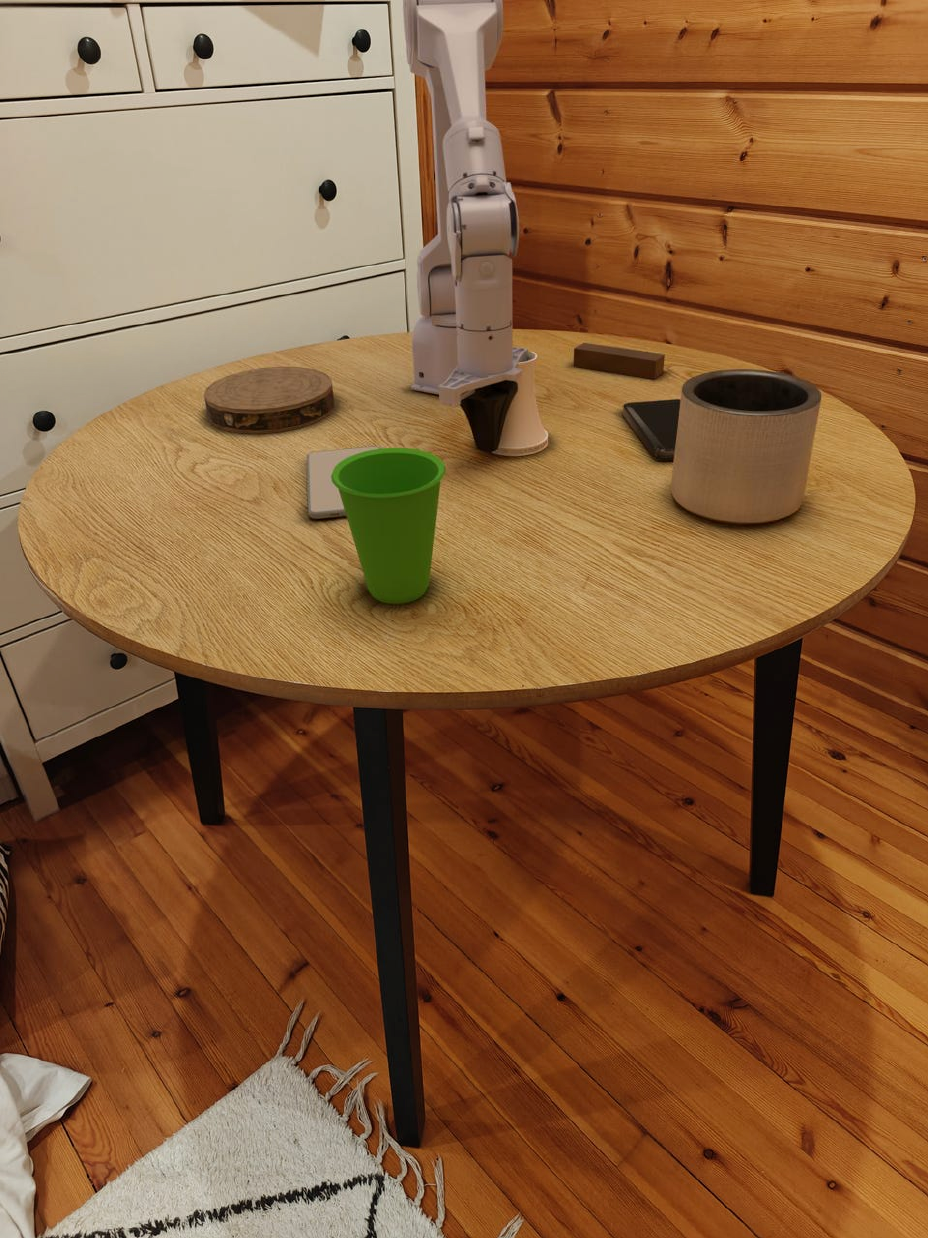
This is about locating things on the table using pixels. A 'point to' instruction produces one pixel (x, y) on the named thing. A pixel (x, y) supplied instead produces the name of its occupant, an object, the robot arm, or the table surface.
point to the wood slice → (269, 399)
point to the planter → (744, 445)
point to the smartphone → (326, 481)
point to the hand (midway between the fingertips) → (487, 448)
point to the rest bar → (619, 360)
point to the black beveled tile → (655, 425)
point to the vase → (523, 417)
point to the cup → (392, 517)
